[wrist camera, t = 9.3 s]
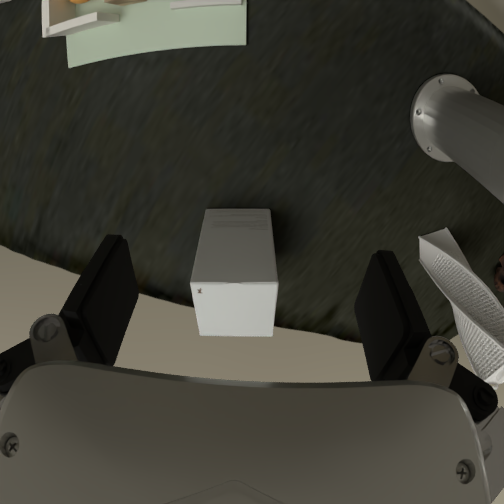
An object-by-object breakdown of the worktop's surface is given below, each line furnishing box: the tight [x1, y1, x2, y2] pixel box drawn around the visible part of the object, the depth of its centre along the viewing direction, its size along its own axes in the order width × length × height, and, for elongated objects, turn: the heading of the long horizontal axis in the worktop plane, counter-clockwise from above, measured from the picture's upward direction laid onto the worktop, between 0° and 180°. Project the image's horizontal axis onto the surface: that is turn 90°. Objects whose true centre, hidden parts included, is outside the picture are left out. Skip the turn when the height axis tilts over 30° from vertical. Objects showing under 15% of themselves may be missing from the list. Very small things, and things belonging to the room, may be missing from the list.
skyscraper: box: [418, 227, 504, 390], centre depth 35 cm, size 8×8×28 cm
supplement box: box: [190, 209, 278, 336], centre depth 40 cm, size 9×9×15 cm
